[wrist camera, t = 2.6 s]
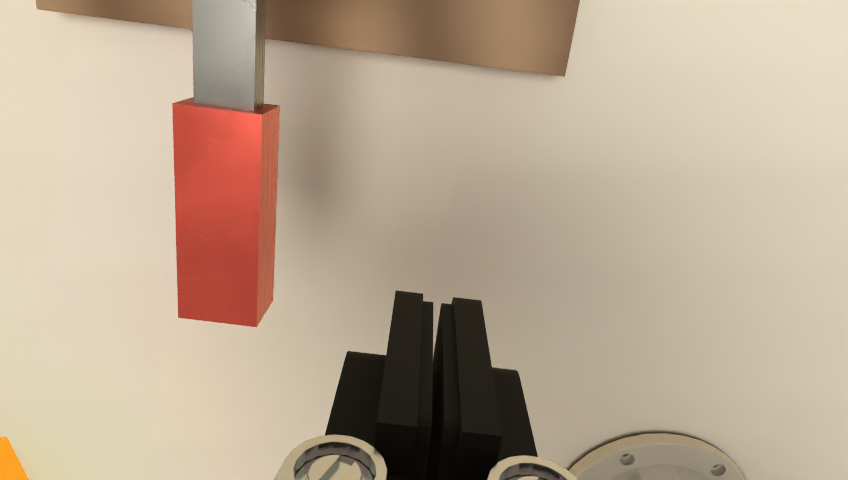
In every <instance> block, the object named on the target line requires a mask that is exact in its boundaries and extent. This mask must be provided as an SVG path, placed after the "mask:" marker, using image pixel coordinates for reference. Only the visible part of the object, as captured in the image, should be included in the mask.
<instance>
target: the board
mask: <svg viewBox="0 0 848 480" xmlns="http://www.w3.org/2000/svg"><path fill="white" fill-rule="evenodd" d="M579 1H580V0H266V25H265V38H266V39H274V40H282V41H290V42H298V43H306V44H313V45H321V46H329V47H337V48H345V49H353V50H360V51H368V52H376V53H384V54H392V55H400V56H407V57H415V58H423V59H431V60H439V61H447V62H455V63H462V64H470V65H478V66H486V67H494V68H502V69H509V70H517V71H525V72H533V73H541V74H549V75H556V76H564V77H565V73H566V67H567V62H568V57H569V52H570V47H571V42H572V37H573V32H574V27H575V22H576V17H577V12H578V6H579ZM36 6H37V9H39V10H47V11H55V12H63V13H70V14H78V15H86V16H94V17H102V18H110V19H117V20H125V21H133V22H141V23H149V24H157V25H164V26H172V27H180V28H188V29H193V14H192V0H36Z"/></svg>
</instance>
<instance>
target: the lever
mask: <svg viewBox="0 0 848 480" xmlns="http://www.w3.org/2000/svg"><path fill="white" fill-rule="evenodd" d="M192 14H193V81H194V97H193V98H189V99H186V100H183V101H179V102H176V103H173V139H174V175H175V212H176V249H177V286H178V318H186V319H194V320H203V321H211V322H219V323H227V324H236V325H244V326H252V327H257V326H258V324H259V323H260V321H261V319H262V318H263V316H264V314H265V313H266V311H267V309H268V308H269V306H270V304H271V303H272V301H273V286H274V257H275V228H276V200H277V171H278V142H279V114H280V106H278V105H270V104H264V64H265V25H266V0H192Z"/></svg>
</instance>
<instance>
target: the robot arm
mask: <svg viewBox="0 0 848 480" xmlns="http://www.w3.org/2000/svg"><path fill="white" fill-rule="evenodd" d="M274 480H746V479H745V477H744V476H743V474H742V473H741V471H740V470H739V469H738V467H737V466H736V465H735V464H734V462H733V461H732V460H731V459H730V458H729V457H727V456H726V455H725V454H724V453H722V452H721V451H720V450H719V449H717V448H715V447H713V446H711V445H709V444H707V443H705V442H703V441H701V440H697V439H694V438H690V437H687V436H683V435H675V434H666V433H658V434H642V435H636V436H631V437H626V438H622V439H619V440H617V441H614V442H611V443H608V444H605V445H603V446H602V447H600V448H598V449H596V450H594V451H592V452H591V453H589V454H587V455H586V456H585V457H583V458H582V459H581V460H580V461H578V462H577V463H576V464H575V465H573V466H572V468H571V469H570V470H569V471H568V470H567V469H565V468H563V467H561V466H560V465H558V464H556V463H554V462H552V461H549V460H546V459H543V458H540V457H538V456H537V452H536V447H535V443H534V438H533V434H532V430H531V425H530V421H529V417H528V412H527V408H526V403H525V399H524V395H523V390H522V386H521V381H520V377H519V374H518V371H516V370H509V369H500V368H492V366H491V360H490V353H489V347H488V341H487V334H486V328H485V321H484V315H483V309H482V302H481V301H480V300H472V299H463V298H455V297H453V299H452V304H443V303H442V304H441V309H440V315H439V322H438V329H437V336H436V343H435V350H434V356H433V302H426V301H423V294H420V293H412V292H403V291H396V293H395V300H394V307H393V314H392V320H391V327H390V334H389V341H388V348H387V355H378V354H369V353H360V352H351V351H348V352H347V354H346V357H345V361H344V365H343V368H342V372H341V376H340V380H339V384H338V387H337V391H336V395H335V399H334V403H333V406H332V410H331V414H330V418H329V422H328V425H327V429H326V433H325V436H319V437H316V438H313V439H310V440H307V441H305V442H303V443H302V444H300V445H299V446H297V447H296V448H294V449H293V450H292V452H291V453H290V454H289V455H288V456H287V458H286V459H285V461H284V462H283V464H282V466H281V468H280V469H279V471H278V473H277V475H276V477H275V478H274Z"/></svg>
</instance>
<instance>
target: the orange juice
mask: <svg viewBox="0 0 848 480" xmlns="http://www.w3.org/2000/svg"><path fill="white" fill-rule="evenodd" d="M0 480H28V478H27V476H26V474H25V472H24V470H23V468H22V466H21V464H20V462H19V461H18V459H17V457H16V455H15V453H14V451H13V449H12V447H11V445H10V443H9V441H8V439H7V437H5V438H0Z"/></svg>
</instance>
